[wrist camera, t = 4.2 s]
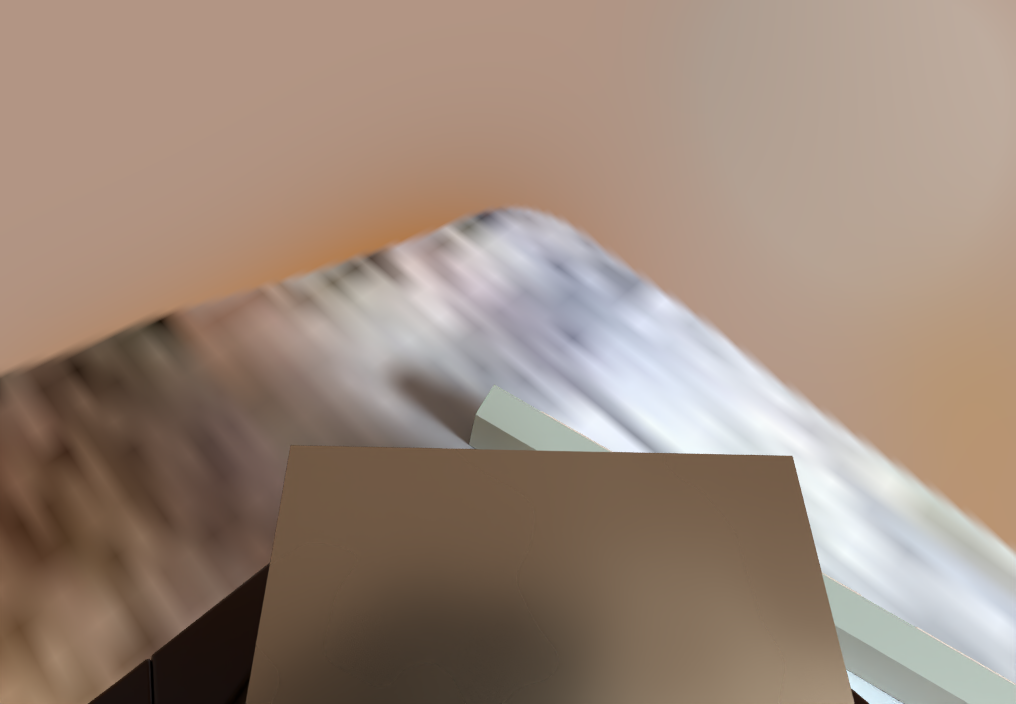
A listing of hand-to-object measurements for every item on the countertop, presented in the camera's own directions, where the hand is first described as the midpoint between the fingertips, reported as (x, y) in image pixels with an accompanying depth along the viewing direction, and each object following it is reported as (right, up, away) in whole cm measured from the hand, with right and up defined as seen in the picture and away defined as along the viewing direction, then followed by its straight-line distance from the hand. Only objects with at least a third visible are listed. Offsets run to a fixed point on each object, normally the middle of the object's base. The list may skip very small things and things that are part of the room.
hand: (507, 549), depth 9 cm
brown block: (-1, -4, +5) cm, 7 cm away
